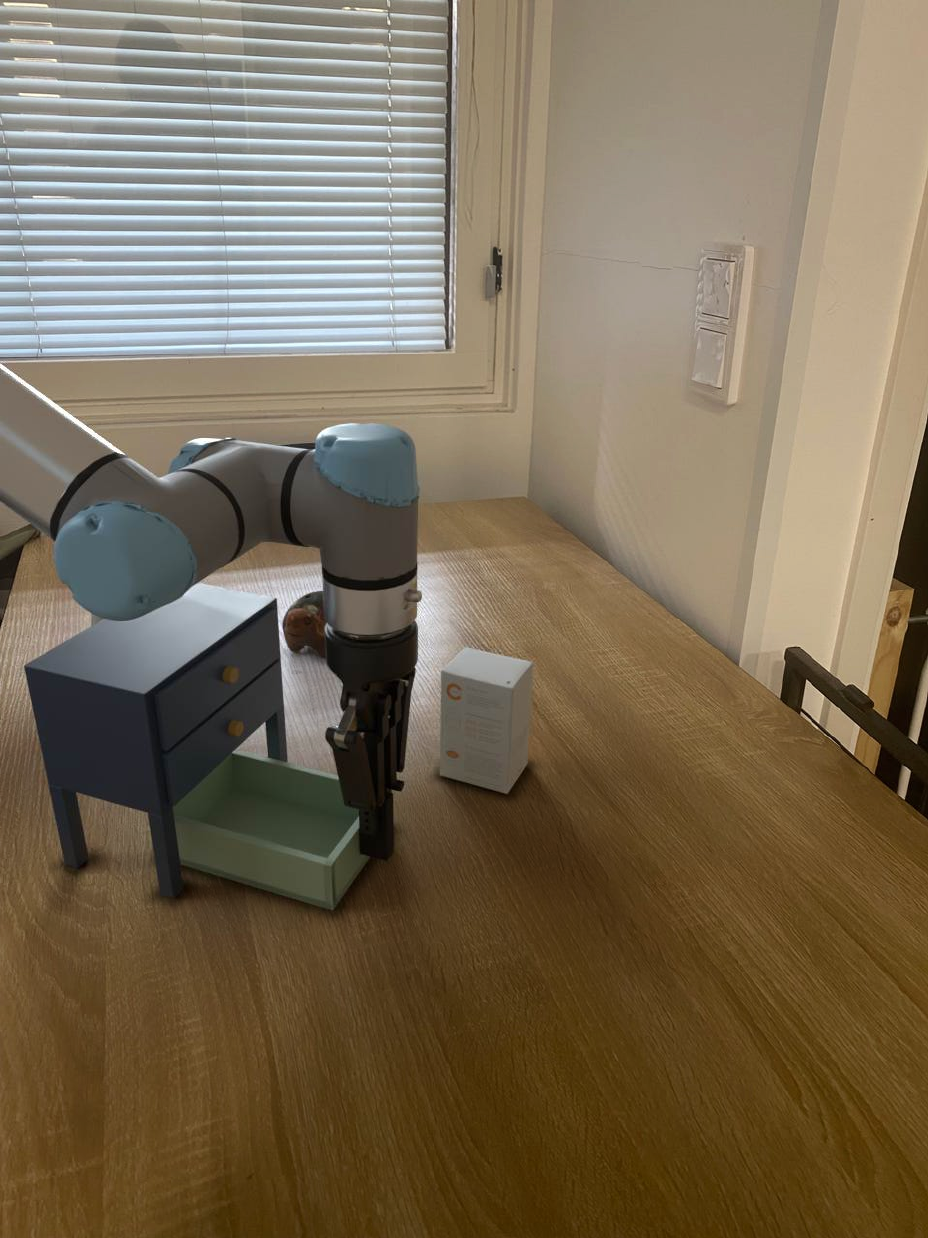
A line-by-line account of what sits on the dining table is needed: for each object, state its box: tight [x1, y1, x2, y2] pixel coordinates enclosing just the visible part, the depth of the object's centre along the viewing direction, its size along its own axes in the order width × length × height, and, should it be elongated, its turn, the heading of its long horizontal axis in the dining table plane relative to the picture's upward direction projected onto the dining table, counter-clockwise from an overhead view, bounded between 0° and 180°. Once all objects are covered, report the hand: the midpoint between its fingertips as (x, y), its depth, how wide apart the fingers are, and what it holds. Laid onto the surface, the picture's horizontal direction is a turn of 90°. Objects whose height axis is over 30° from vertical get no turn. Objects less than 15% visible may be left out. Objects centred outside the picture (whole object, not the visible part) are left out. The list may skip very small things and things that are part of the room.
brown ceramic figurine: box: [281, 590, 327, 660], centre depth 123 cm, size 10×15×8 cm, turn 163°
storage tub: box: [172, 749, 371, 911], centre depth 86 cm, size 18×12×5 cm, turn 70°
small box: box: [439, 646, 534, 795], centre depth 96 cm, size 8×6×13 cm
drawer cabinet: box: [23, 582, 289, 899], centre depth 86 cm, size 13×20×21 cm
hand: (377, 852), depth 83 cm, fingers closed
